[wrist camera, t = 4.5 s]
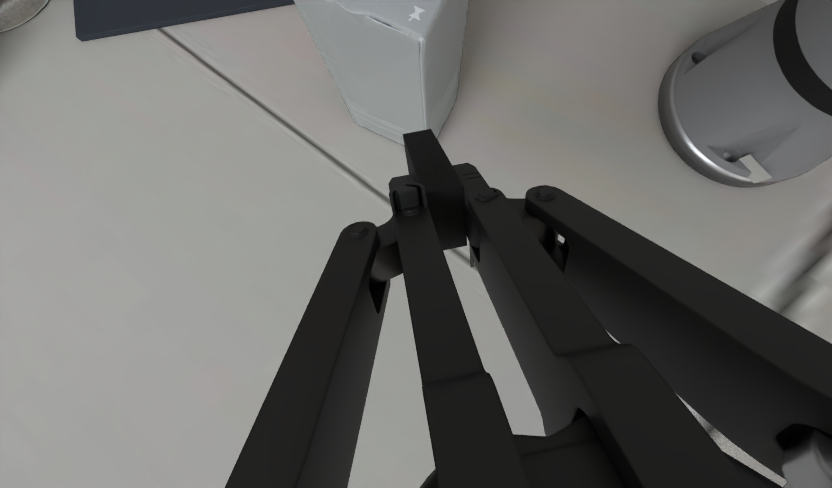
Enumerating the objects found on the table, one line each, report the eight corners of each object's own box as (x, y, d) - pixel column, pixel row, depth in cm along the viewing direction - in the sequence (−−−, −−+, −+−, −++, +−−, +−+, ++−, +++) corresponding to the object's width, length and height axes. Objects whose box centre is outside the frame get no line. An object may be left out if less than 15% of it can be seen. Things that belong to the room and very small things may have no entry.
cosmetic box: (456, 103, 32) (495, -76, 16) (423, 165, 31) (430, 42, 15) (379, 67, 32) (344, -142, 16) (345, 127, 31) (274, -31, 16)
